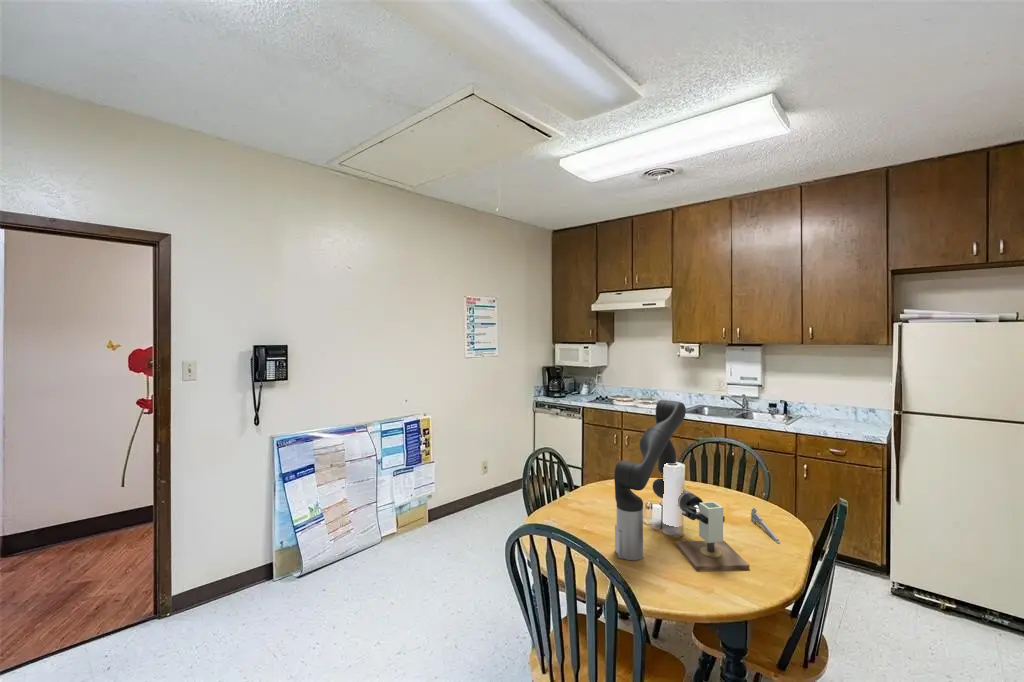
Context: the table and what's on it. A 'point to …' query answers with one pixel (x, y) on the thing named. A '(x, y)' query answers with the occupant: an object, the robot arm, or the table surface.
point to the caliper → (763, 524)
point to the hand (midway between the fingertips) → (715, 520)
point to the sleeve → (711, 522)
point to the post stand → (711, 556)
